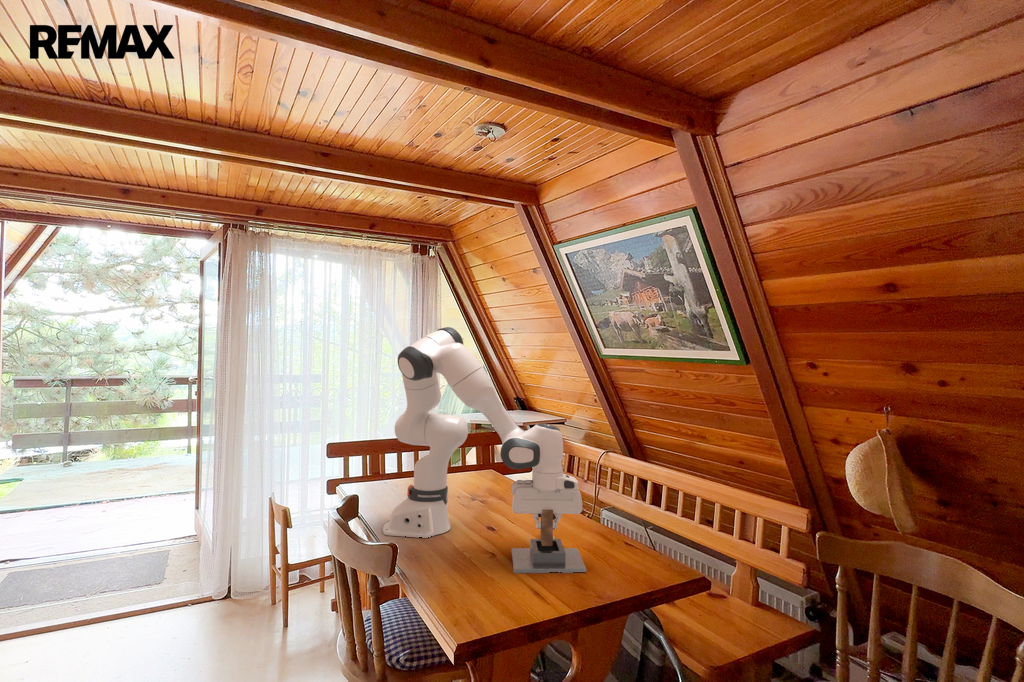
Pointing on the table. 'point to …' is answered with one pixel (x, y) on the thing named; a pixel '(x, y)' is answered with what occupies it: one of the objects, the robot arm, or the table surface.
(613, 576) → the table surface
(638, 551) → the table surface
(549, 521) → the walnut wedge
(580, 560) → the grey socket base
